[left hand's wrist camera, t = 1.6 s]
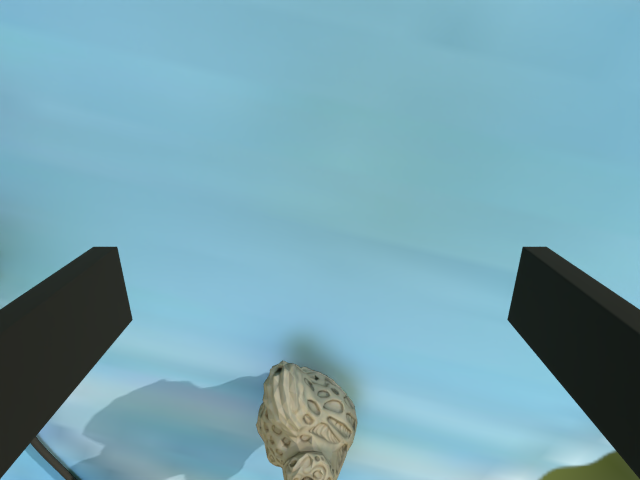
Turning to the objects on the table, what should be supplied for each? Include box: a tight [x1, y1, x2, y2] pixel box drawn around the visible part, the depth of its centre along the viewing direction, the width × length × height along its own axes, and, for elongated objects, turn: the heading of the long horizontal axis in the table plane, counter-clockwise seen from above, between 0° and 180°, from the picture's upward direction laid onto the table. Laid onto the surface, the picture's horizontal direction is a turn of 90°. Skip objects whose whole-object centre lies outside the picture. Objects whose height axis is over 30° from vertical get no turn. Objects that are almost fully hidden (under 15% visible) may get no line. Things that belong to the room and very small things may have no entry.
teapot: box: [256, 361, 357, 480], centre depth 43 cm, size 21×12×15 cm, turn 13°
